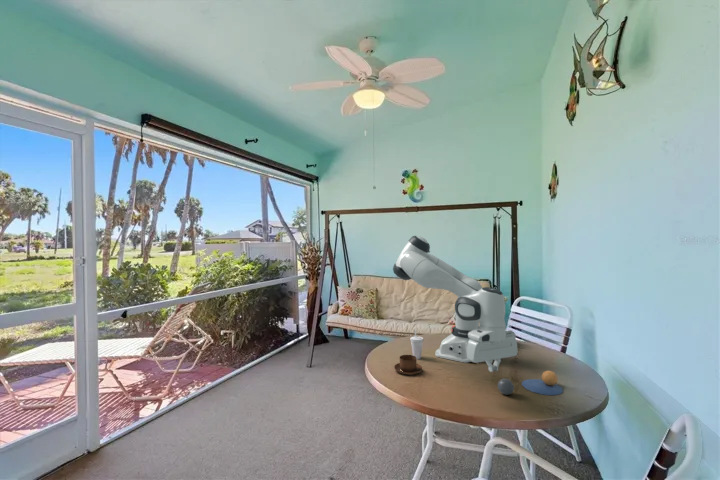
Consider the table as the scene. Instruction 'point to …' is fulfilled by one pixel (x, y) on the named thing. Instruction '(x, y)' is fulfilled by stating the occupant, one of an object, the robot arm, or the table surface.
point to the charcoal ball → (505, 386)
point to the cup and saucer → (408, 365)
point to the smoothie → (416, 346)
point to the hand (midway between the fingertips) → (493, 370)
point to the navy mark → (541, 387)
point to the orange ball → (549, 378)
